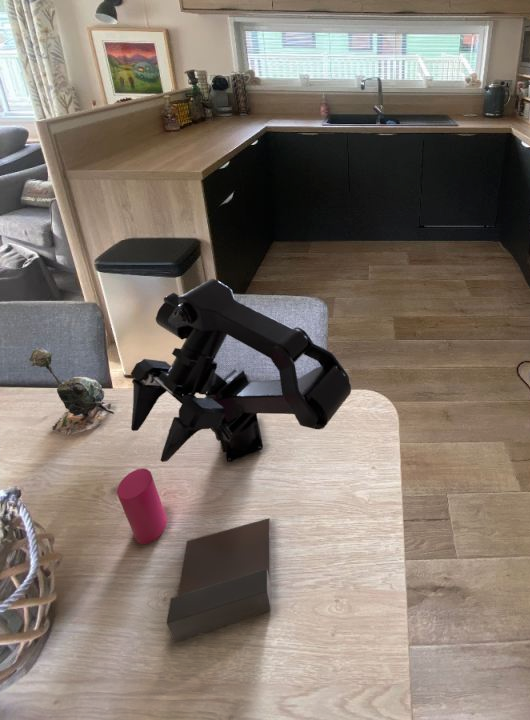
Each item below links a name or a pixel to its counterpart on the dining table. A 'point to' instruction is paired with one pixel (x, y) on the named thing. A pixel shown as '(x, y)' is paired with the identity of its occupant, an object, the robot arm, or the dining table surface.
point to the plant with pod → (76, 399)
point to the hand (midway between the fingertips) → (148, 445)
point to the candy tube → (142, 505)
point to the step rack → (222, 580)
